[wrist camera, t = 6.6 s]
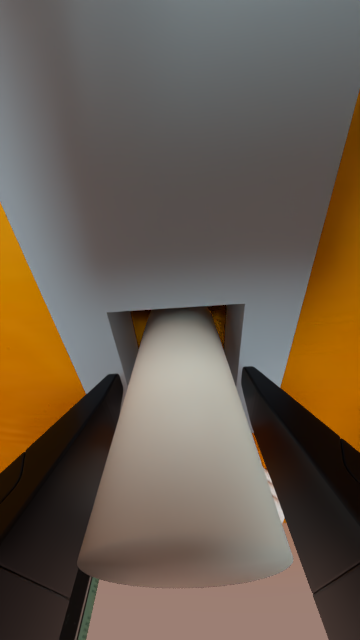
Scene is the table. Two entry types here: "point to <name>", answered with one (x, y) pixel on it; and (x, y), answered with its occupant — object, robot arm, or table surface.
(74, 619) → the spray can
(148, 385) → the peg
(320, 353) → the table surface
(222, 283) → the socket board
